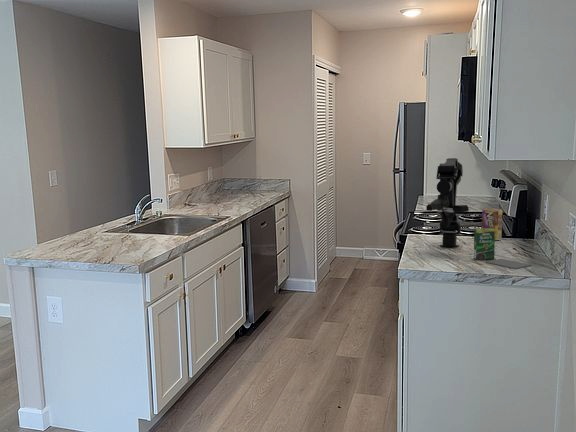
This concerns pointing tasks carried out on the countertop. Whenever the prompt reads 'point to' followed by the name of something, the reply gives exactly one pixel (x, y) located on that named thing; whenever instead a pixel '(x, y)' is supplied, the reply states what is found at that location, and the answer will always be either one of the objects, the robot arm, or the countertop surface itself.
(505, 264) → the mat
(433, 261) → the countertop surface
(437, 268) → the countertop surface
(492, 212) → the candy box
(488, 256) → the coffee box
